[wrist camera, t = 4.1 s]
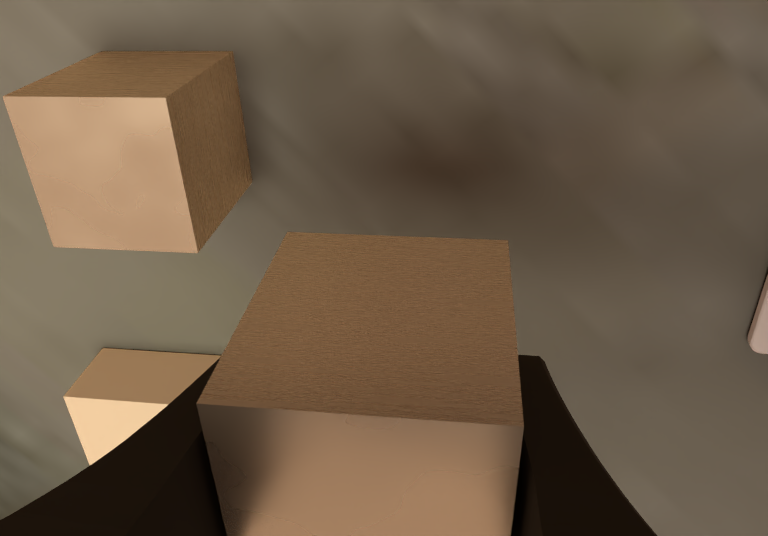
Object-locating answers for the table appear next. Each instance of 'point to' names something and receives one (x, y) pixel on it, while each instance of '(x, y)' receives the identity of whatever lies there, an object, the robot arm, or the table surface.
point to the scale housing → (127, 393)
